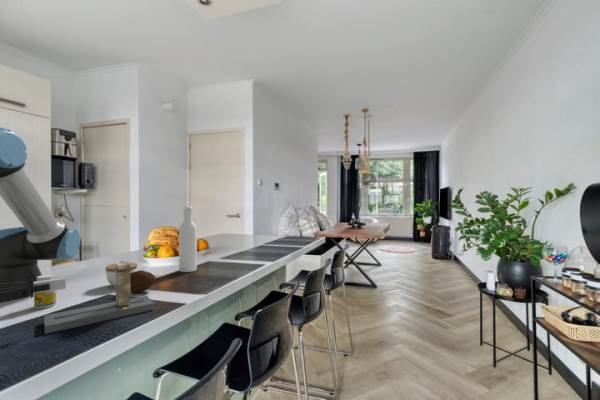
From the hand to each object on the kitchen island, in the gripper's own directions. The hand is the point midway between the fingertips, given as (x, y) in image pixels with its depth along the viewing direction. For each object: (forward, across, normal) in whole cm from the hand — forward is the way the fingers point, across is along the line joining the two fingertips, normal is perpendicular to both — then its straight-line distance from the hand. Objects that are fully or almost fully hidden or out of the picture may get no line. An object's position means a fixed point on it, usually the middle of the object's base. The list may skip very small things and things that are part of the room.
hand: (65, 283), depth 83 cm
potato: (+23, -17, -12) cm, 31 cm away
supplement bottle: (-4, -21, -12) cm, 24 cm away
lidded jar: (+19, -31, -12) cm, 38 cm away
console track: (+9, 0, -11) cm, 14 cm away
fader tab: (+14, 0, -9) cm, 16 cm away
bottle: (+48, -38, -12) cm, 62 cm away
